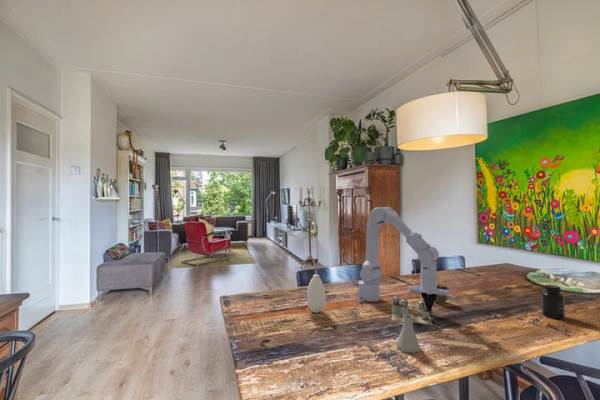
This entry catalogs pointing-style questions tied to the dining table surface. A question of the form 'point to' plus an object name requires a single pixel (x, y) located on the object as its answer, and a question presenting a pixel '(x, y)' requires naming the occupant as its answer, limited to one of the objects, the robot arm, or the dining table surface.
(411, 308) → the brass nut
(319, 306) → the sauce bottle
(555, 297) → the supplement bottle
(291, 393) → the dining table surface
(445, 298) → the cup
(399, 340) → the flask
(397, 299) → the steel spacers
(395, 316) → the birch board
